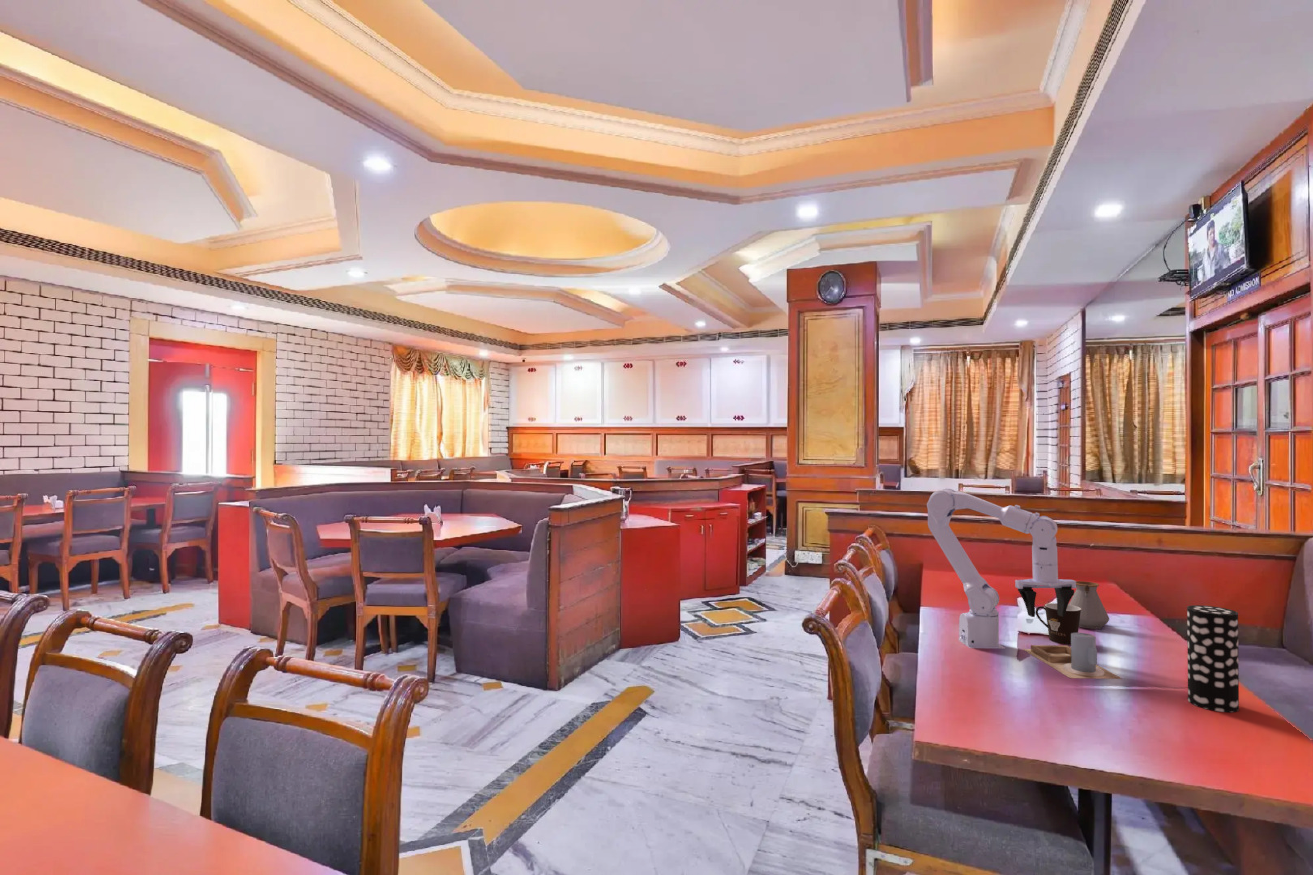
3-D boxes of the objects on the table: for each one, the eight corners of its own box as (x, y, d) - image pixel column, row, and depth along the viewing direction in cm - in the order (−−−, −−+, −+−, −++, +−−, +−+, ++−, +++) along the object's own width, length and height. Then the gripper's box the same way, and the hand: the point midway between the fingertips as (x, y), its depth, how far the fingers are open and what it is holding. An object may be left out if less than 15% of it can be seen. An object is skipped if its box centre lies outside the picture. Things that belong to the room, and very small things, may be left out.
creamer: (1066, 665, 163) (1066, 632, 163) (1087, 665, 163) (1087, 632, 163) (1084, 675, 156) (1083, 641, 156) (1105, 675, 156) (1105, 641, 156)
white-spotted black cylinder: (1230, 700, 144) (1229, 607, 144) (1245, 715, 136) (1244, 616, 136) (1182, 694, 147) (1182, 603, 147) (1194, 708, 140) (1193, 612, 140)
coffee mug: (1088, 647, 181) (1088, 610, 181) (1056, 647, 181) (1056, 610, 181) (1063, 635, 193) (1062, 600, 193) (1032, 635, 193) (1032, 600, 193)
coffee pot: (1064, 618, 211) (1064, 571, 211) (1108, 623, 205) (1108, 574, 205) (1063, 634, 193) (1063, 583, 193) (1111, 641, 187) (1111, 587, 187)
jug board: (1069, 680, 156) (1069, 670, 156) (1022, 651, 178) (1022, 642, 178) (1122, 681, 156) (1122, 671, 156) (1068, 651, 177) (1068, 643, 178)
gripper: (1024, 566, 171) (1025, 619, 170) (1082, 565, 170) (1084, 619, 170) (1010, 561, 178) (1012, 613, 178) (1066, 561, 177) (1068, 612, 177)
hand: (1046, 615), depth 174 cm, fingers open, 7 cm apart
